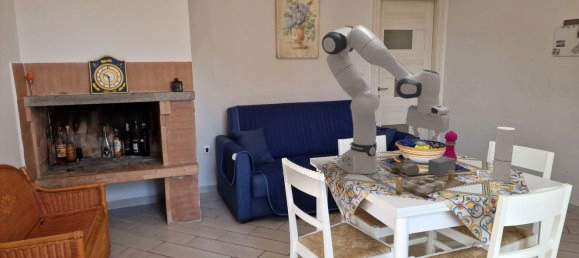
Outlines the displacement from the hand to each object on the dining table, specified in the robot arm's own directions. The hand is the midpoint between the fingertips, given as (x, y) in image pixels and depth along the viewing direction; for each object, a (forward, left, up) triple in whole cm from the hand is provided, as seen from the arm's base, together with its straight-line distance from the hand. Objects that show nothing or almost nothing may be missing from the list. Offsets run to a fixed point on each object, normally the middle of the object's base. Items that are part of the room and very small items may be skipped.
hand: (425, 138), depth 179 cm
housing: (-3, +17, -21) cm, 27 cm away
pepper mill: (-10, +32, -21) cm, 39 cm away
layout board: (+7, 0, -21) cm, 22 cm away
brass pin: (+3, -19, -21) cm, 28 cm away
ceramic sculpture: (-13, +4, -21) cm, 25 cm away
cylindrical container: (+18, +31, -21) cm, 41 cm away
